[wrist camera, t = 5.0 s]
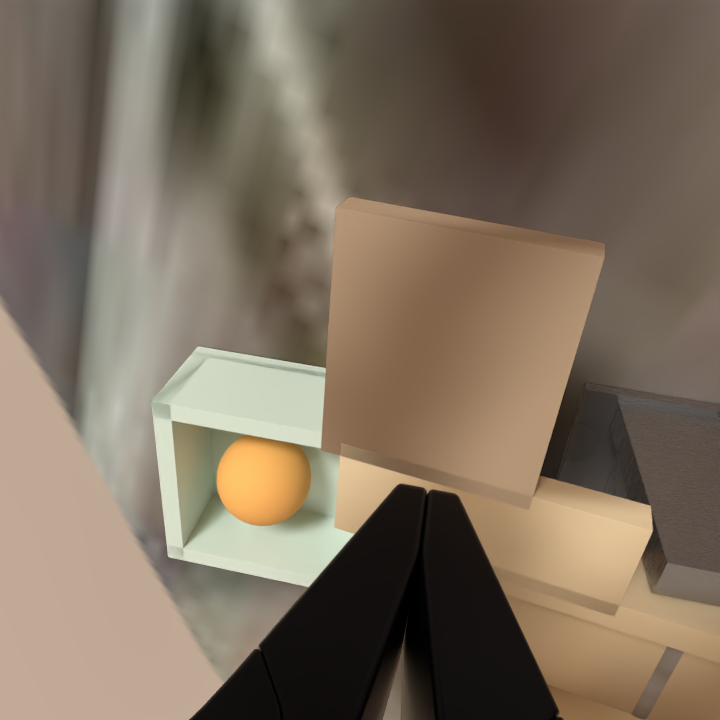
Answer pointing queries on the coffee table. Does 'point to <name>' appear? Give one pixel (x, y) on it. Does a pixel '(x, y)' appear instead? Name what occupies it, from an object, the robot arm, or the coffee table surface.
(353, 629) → the robot arm
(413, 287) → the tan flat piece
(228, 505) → the ball
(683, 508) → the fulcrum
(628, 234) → the coffee table surface
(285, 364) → the mint cubby shelf
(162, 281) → the coffee table surface
